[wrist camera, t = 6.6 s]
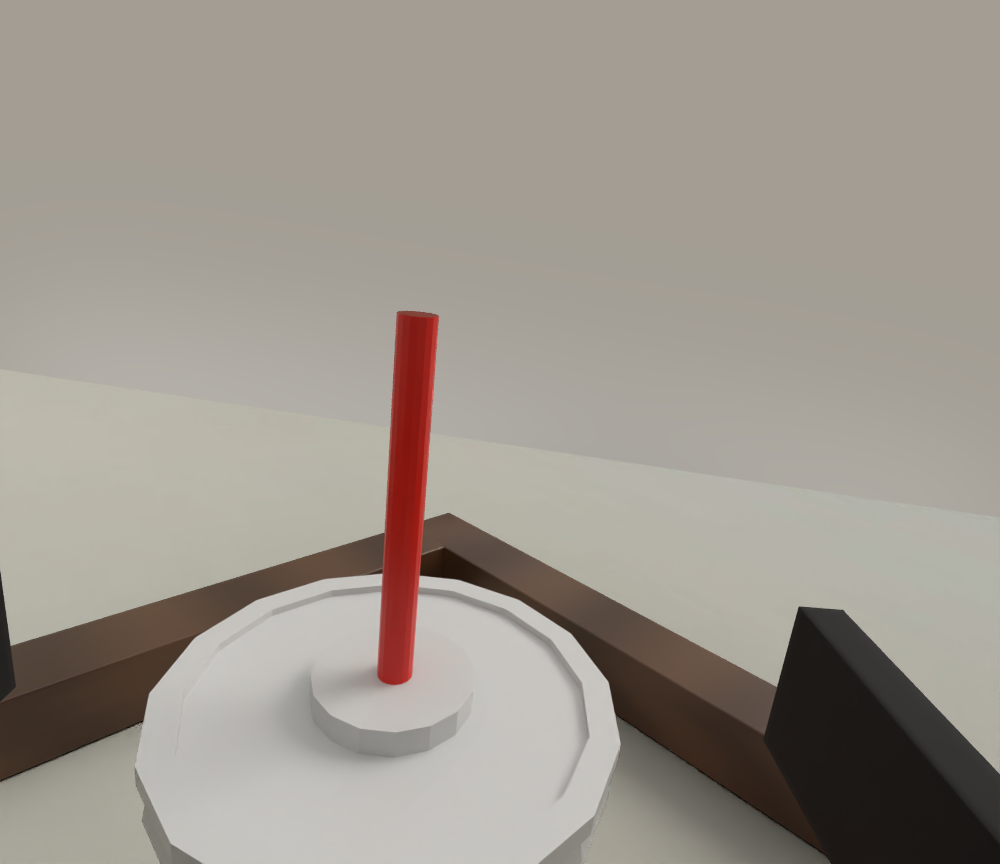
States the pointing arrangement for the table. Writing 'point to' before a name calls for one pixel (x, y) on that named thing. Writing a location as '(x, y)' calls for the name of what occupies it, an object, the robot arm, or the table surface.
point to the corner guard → (445, 554)
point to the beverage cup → (381, 708)
